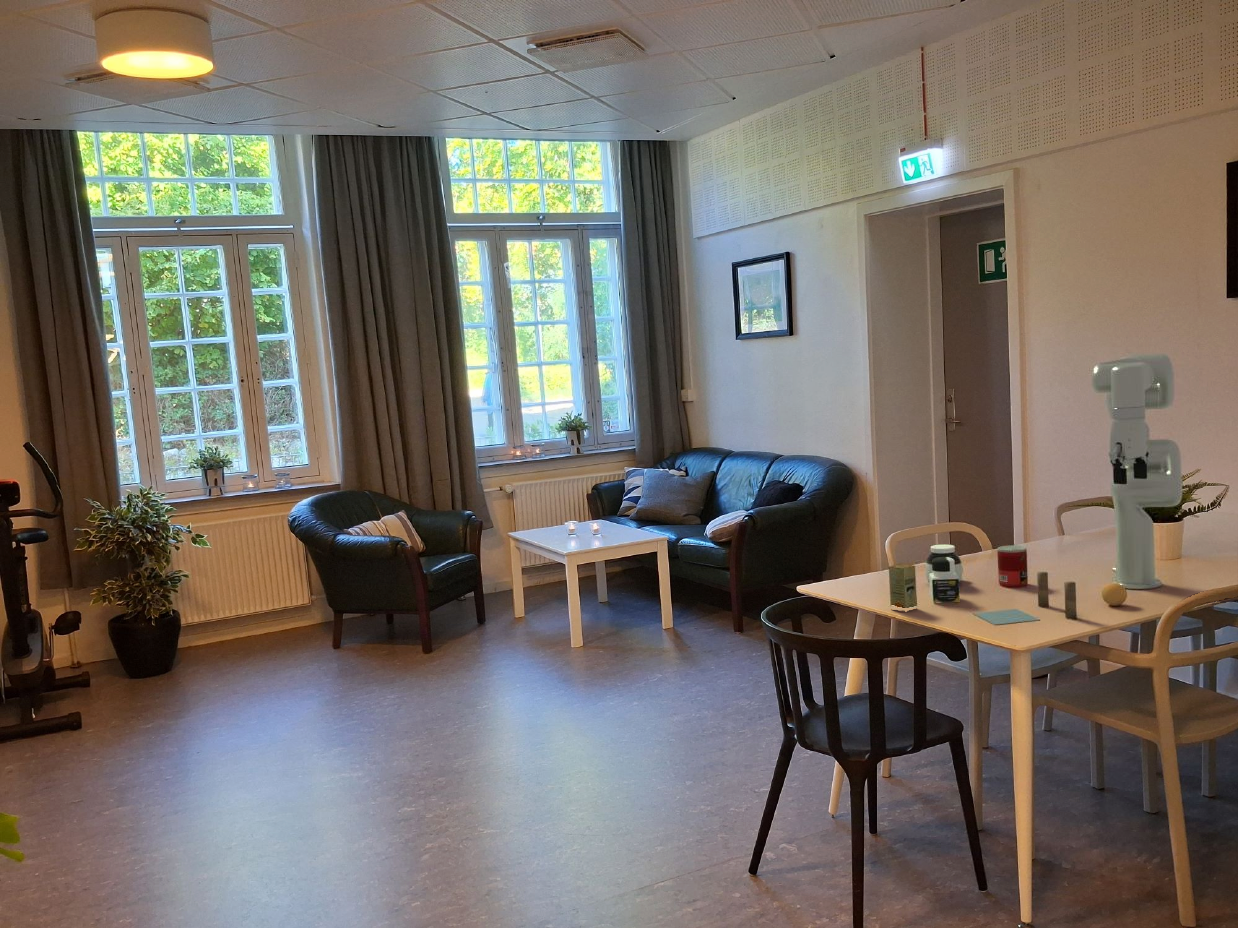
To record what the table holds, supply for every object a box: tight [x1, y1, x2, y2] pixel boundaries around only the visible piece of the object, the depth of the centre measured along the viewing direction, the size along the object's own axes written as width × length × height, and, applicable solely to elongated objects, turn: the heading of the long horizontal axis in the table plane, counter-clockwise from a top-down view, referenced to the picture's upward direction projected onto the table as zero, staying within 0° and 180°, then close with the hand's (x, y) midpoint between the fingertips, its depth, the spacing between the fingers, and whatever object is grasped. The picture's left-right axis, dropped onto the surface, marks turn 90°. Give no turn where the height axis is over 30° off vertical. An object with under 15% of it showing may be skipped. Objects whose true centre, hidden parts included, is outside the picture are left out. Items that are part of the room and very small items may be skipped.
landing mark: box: [972, 608, 1041, 626], centre depth 262 cm, size 12×12×1 cm
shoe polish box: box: [888, 563, 918, 608], centre depth 277 cm, size 5×5×12 cm
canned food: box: [997, 544, 1029, 589], centre depth 296 cm, size 8×8×11 cm
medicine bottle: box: [929, 557, 961, 603], centre depth 284 cm, size 7×7×12 cm
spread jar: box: [925, 544, 964, 584], centre depth 304 cm, size 12×11×12 cm
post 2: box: [1063, 581, 1078, 620], centre depth 257 cm, size 3×3×9 cm
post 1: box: [1036, 571, 1050, 608], centre depth 270 cm, size 3×3×9 cm
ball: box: [1101, 582, 1128, 607], centre depth 265 cm, size 6×6×6 cm
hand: (1130, 481), depth 258 cm, fingers open, 9 cm apart
